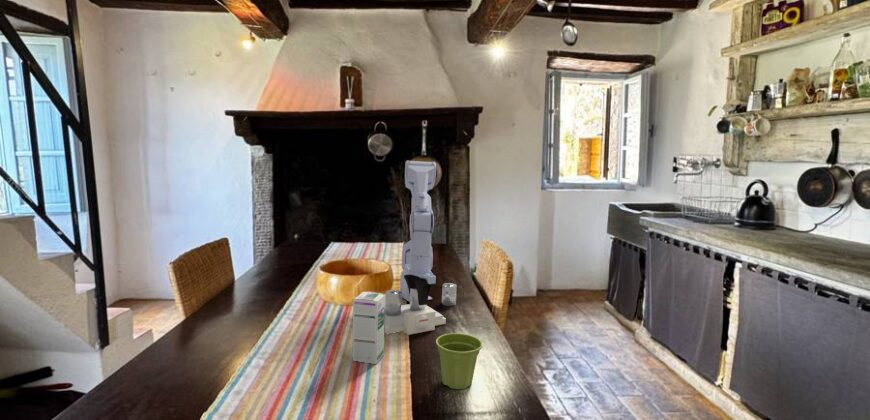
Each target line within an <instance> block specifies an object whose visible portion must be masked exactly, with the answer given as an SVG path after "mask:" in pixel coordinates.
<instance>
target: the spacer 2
mask: <svg viewBox="0 0 870 420" xmlns="http://www.w3.org/2000/svg"><path fill="white" fill-rule="evenodd" d="M409 304H410V310H411V311H420V310H425V305H419V303H418V292H417V287H416V286H414V287H411V288H410V302H409Z"/></svg>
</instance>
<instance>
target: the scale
mask: <svg viewBox="0 0 870 420" xmlns="http://www.w3.org/2000/svg"><path fill="white" fill-rule="evenodd" d="M446 320H447V318H446V317H444V315H442V314H441V313H440V312H438V311H436V310H435V309H433V308H432V307H430V306H428V305H427V304H426V305H425V310H420V311H411V310H410V303H409V304H401V315H399V316H387V315H385V333H386V334H387V335H390V334H389V333H393V334H395V333H394V332H398V333H401V332H400V331H403V332H404V333H405V334H406V333H407V334H406V335H408V336H410V335H414V334H419V333H420V334H421V333H423V332H429V331H435V330H436V327H435V326H441V325H446V324H447V323H446ZM386 334H385V335H386Z"/></svg>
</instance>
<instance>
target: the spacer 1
mask: <svg viewBox="0 0 870 420" xmlns="http://www.w3.org/2000/svg"><path fill="white" fill-rule="evenodd" d="M402 298H403V297H402V292H401V291H400V289H398V290H397V289H388V290H386V291H385V315H387V316H399V315H401V305H402Z"/></svg>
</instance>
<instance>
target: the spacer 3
mask: <svg viewBox="0 0 870 420" xmlns="http://www.w3.org/2000/svg"><path fill="white" fill-rule="evenodd" d="M457 287H458V286H457V284H456V283H454V282H453V283H452V282H444V283H443V284H442V292H441V305H442V306H447V307H451V306H456V304H457Z"/></svg>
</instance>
